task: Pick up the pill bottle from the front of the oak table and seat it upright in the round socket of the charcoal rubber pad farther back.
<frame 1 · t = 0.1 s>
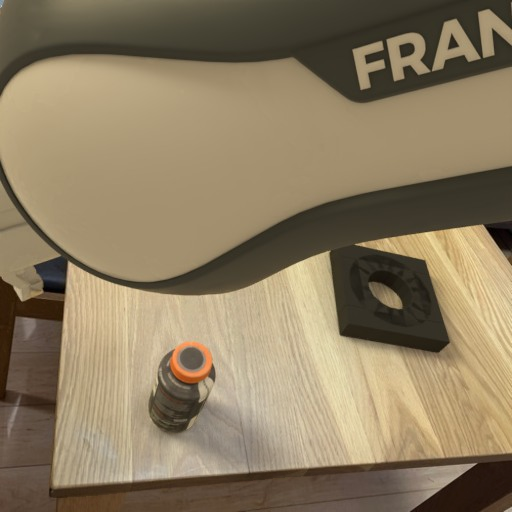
hand: (90, 268, 38), 22 cm above the table, tool pointing down, fingers open, 8 cm apart
onion: (211, 210, 79), on the table
plate: (333, 150, 102), on the table
pill bottle: (173, 408, 56), on the table
apple: (183, 121, 93), on the table
socket pad: (381, 300, 77), on the table
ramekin: (200, 54, 112), on the table
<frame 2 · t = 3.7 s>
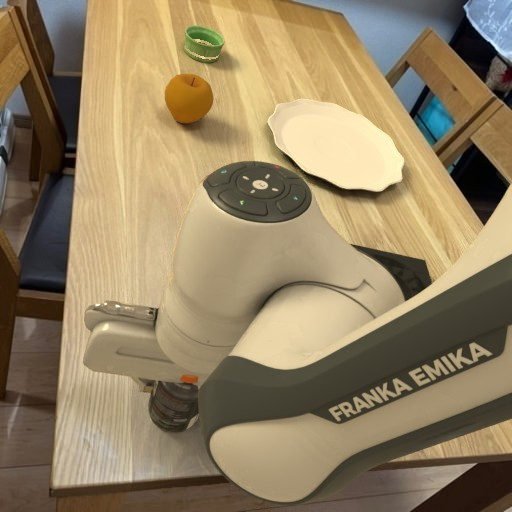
hand: (180, 391, 53), 4 cm above the table, tool pointing down, fingers closed on pill bottle, 6 cm apart
pill bottle: (173, 408, 56), on the table, touching gripper
everything else where it was.
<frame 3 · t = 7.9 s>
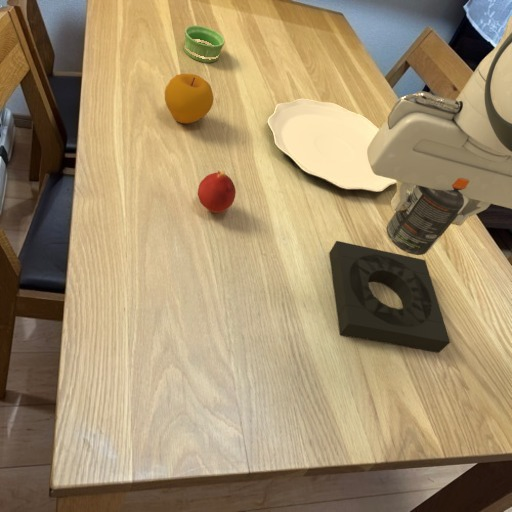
hand: (425, 214, 57), 21 cm above the table, tool pointing down, fingers closed on pill bottle, 6 cm apart
pill bottle: (406, 239, 61), point 17 cm above the table, touching gripper
everything else where it was.
when the fingers open (4 cm above the table, at t = 12.2 s): pill bottle stays where it is, resting in socket pad.
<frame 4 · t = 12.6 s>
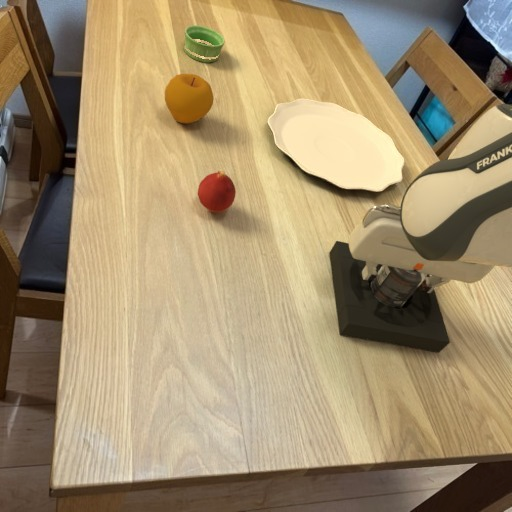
hand: (395, 283, 73), 4 cm above the table, tool pointing down, fingers open, 8 cm apart
pill bottle: (380, 300, 77), resting in socket pad
everything else where it was.
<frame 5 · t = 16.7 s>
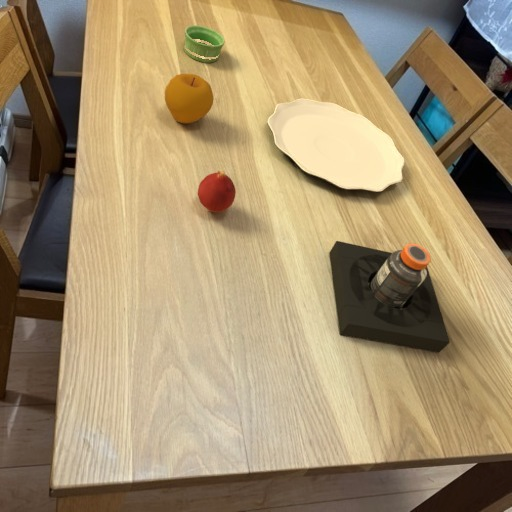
nothing on the table moved.
at the end: pill bottle 0.1 cm off-centre in the socket pad, point 0.0 cm above the socket pad's base; pill bottle tilted 0°; the gripper is holding nothing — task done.
